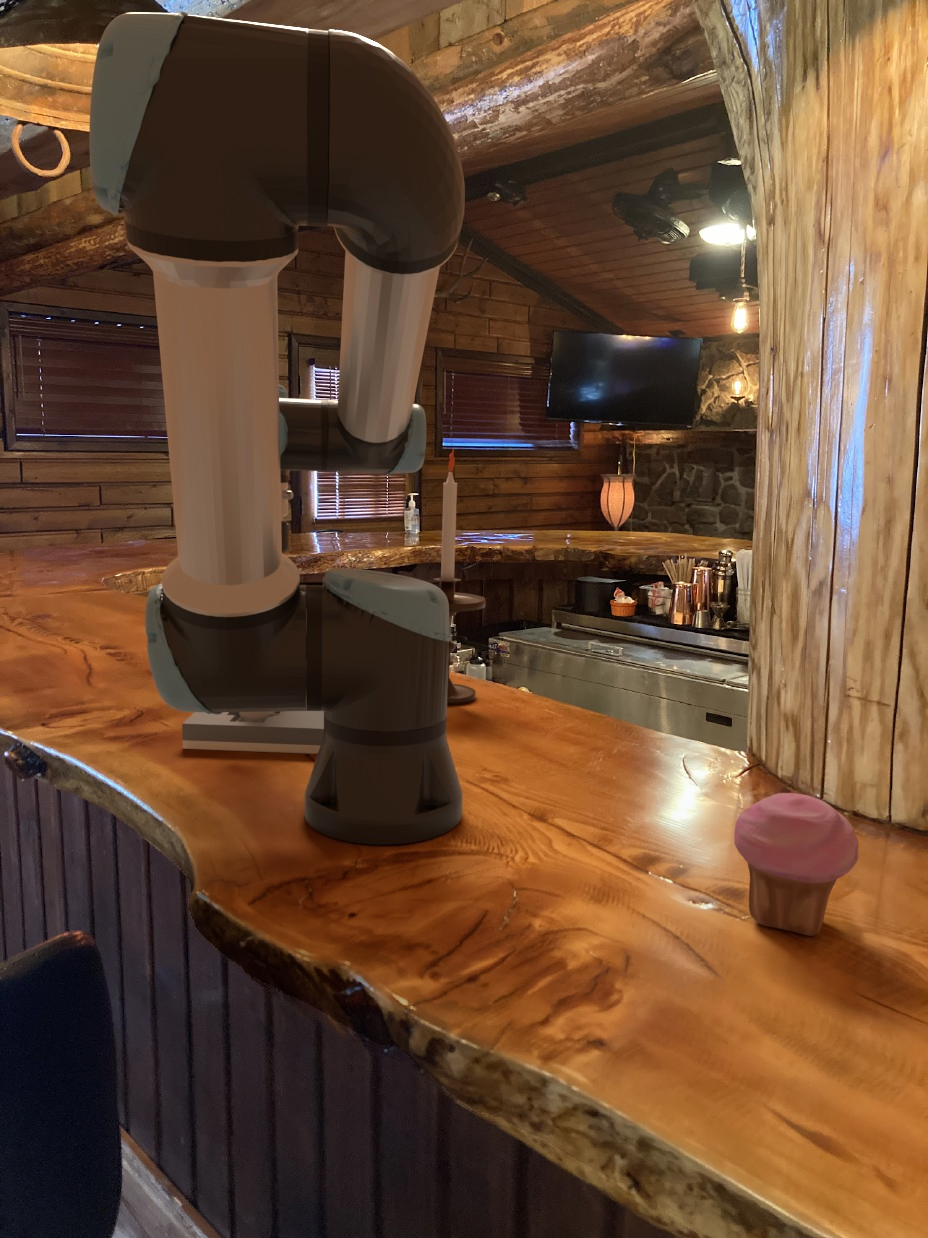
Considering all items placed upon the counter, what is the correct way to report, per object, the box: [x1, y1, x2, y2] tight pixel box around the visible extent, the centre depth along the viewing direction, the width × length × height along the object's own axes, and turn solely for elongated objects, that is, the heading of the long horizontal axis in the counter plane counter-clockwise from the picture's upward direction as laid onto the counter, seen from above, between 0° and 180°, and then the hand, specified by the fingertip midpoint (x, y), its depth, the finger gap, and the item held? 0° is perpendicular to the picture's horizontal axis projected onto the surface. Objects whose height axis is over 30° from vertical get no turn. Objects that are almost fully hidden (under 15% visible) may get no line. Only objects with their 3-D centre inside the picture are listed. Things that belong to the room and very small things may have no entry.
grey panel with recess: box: [181, 711, 324, 755], centre depth 112 cm, size 14×26×8 cm, turn 89°
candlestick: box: [433, 449, 486, 707], centre depth 129 cm, size 11×11×35 cm
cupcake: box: [733, 792, 859, 937], centre depth 70 cm, size 9×9×10 cm
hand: (257, 694), depth 112 cm, fingers open, 13 cm apart
